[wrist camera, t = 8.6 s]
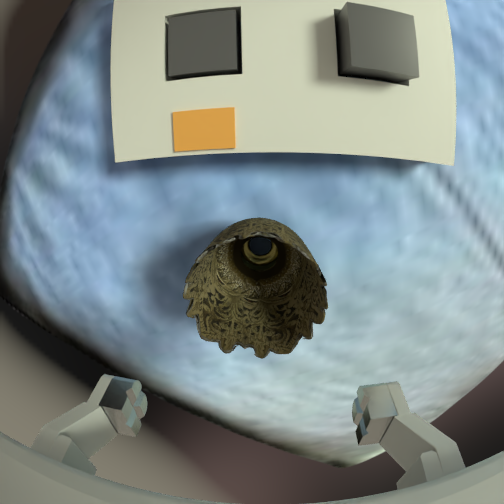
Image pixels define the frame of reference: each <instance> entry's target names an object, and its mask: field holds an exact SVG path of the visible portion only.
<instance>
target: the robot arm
mask: <svg viewBox="0 0 504 504" xmlns="http://www.w3.org/2000/svg"><path fill="white" fill-rule="evenodd" d="M141 388H142V386H141V384H140V382H139V381H137V380H131V379H126V378H121V377H116V376H111V375H106V374H104V375H103V376H102V377H101V378H100V380H99V382H98V383H97V385H96V387H95V389H94V391H93V392H92V394H91V396H90V398H89V400H88V401H87V403H86V402H83V403H82V404H80V405H78V406H77V407H75V408H73V409H71V410H70V411H68V412H66V413H65V414H63V415H61V416H59V417H58V418H56V419H54V420H53V421H51V422H49V423H47V424H46V425H44V426H43V427H42V429H41V430H40V432H39V434H38V436H37V437H36V439H35V441H34V443H33V445H32V446H31V448H29V447H27V446H25V445H23V444H21V443H20V442H18V441H16V440H14V439H12V438H10V437H9V436H7V435H5V434H4V433H2V432H0V504H232V503H220V502H210V501H202V500H195V499H188V498H182V497H176V496H170V495H166V494H161V493H155V492H151V491H147V490H143V489H138V488H135V487H131V486H127V485H124V484H120V483H117V482H113V481H110V480H107V479H104V478H101V477H98V476H95V473H96V467H95V466H94V465H93V464H92V463H91V462H90V461H89V458H90V457H91V456H93V455H94V454H95V453H96V452H98V451H99V450H100V449H101V448H102V447H104V446H105V445H106V444H107V443H108V442H110V441H111V440H112V439H113V438H114V437H115V436H117V433H119V434H124V435H128V436H133V437H137V435H138V432H139V429H140V427H141V422H140V420H139V419H140V418H142V417H143V416H145V413H146V409H147V399H146V396H145V394H144V393H143V392H141ZM357 396H358V397H357V398H356V399H355V400H354V402H353V407H352V417H353V422H354V423H355V424H356V425H357V426H358V427H357V429H356V436H357V441H358V446H359V445H367V444H375V443H379V444H380V445H381V446H382V447H383V448H384V449H385V450H386V451H387V452H388V453H389V454H390V455H391V456H392V457H393V459H394V460H395V461H397V463H398V464H399V465H400V466H401V467H402V468H403V469H404V470H405V471H406V473H405V474H404V475H403V477H402V478H401V479H400V480H399V481H398V482H397V488H398V490H395V491H391V492H386V493H382V494H377V495H372V496H366V497H360V498H354V499H347V500H341V501H332V502H322V503H310V504H504V451H502V452H500V453H498V454H496V455H494V456H492V457H490V458H488V459H486V460H484V461H481V462H479V463H477V464H474V465H472V466H470V467H467V468H465V465H464V463H463V460H462V457H461V455H460V452H459V450H458V447H457V445H456V442H454V441H453V440H451V439H450V438H449V437H447V436H446V435H445V434H443V433H442V432H440V431H439V430H438V429H436V428H435V427H433V426H432V425H431V424H429V423H428V422H427V421H425V420H424V419H422V418H421V417H420V416H418V415H417V414H416V413H411V412H410V409H409V407H408V404H407V401H406V399H405V396H404V394H403V391H402V389H401V386H400V384H399V383H398V382H389V383H380V384H372V385H364V386H360V387H359V388H358V390H357Z"/></svg>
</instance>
